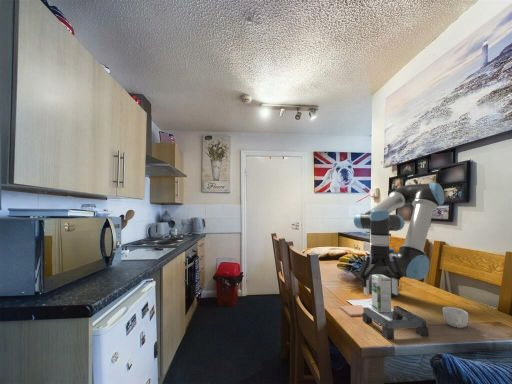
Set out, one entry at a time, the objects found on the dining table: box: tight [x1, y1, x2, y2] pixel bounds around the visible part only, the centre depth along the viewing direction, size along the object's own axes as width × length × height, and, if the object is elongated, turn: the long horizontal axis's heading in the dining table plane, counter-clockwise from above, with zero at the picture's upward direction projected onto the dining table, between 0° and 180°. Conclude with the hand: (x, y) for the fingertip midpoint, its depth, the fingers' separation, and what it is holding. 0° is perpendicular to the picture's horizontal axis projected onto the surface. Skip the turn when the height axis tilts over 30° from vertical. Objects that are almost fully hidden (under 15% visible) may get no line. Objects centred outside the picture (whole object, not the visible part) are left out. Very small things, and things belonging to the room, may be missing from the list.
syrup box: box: [371, 274, 392, 313], centre depth 110 cm, size 6×6×14 cm
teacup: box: [441, 306, 469, 329], centre depth 95 cm, size 10×8×5 cm
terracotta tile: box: [339, 304, 365, 317], centre depth 108 cm, size 10×9×1 cm
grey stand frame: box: [362, 305, 429, 340], centre depth 93 cm, size 16×14×5 cm
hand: (380, 294), depth 110 cm, fingers open, 13 cm apart
